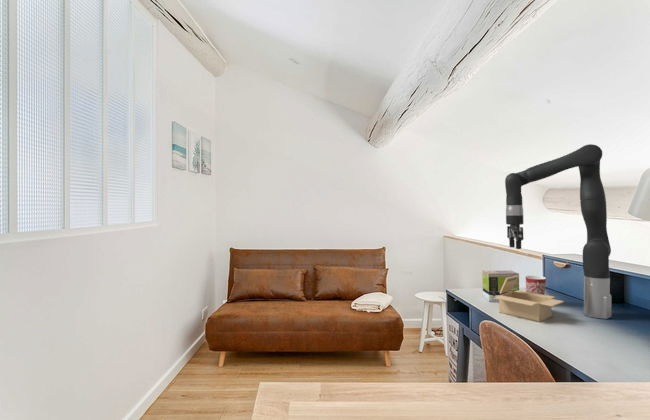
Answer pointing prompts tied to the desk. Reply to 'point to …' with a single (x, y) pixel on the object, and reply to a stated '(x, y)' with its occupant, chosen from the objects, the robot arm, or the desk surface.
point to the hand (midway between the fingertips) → (515, 248)
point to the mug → (535, 284)
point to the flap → (509, 284)
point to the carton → (527, 305)
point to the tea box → (496, 283)
